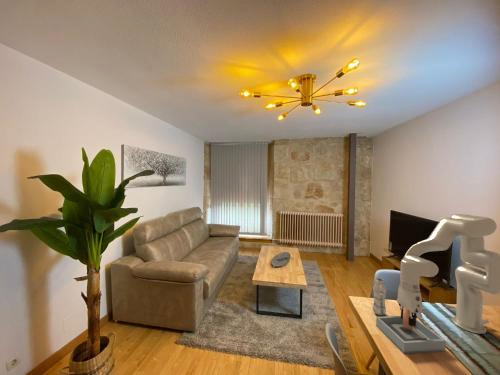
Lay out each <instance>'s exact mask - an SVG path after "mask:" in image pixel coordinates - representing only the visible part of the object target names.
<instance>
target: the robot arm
mask: <svg viewBox="0 0 500 375" xmlns="http://www.w3.org/2000/svg"><path fill="white" fill-rule="evenodd" d="M497 227H498V226H497V222H496V221H495V220H494V219H493V218H491V217H487V216H479V215H471V214H463V213H455V214H452V215H450V217H444V218H442V219H440V221H439V222H438V223H437V224H436V226H435V228H434V229H433V231H432V232H431V234H429V236H428V238H426V239H424V240H421V241H418V242H417V243H415V244H413V245H411V247H409V249H408V250H407V251H406V253H405V255H404V256H403V258H402V259H401V261H400V270H399V272H400V275H399V277H400V278H399V285H398V289H397V298H396V302H397V304H398V306H399V311H400V316H401V319H402V320H403V307H405V308H406V309H408V310H409V312H410V317H409V326H416V319H418V318H423V314H422V313H423V299H422V298H423V297H422V293H421V288H420V279H421V278H420V277H426V278H432V277H435V276H437V274H438V273H439V267H438V265H437V264H436V263H434V262H433V261H431V260H428V259H425V258H424V257H423V258H422V257H421V256H422V255H423V254H425V253H429V252H439V251H447V250H449V248H450V247H451V245H452V243H454V241H455V239H456V238H457V237H460V252H459V254H460V255H459V257H460V260H461V261H462V263H465V264H467V265H459V266H457V267H456V268H455V270H454V275H455V280H456V289H457V290H456V312H455V313H456V314H455V315H456V316H453V317H452V318H451V320H452V322H453V324H454V325H455V326H457V327H459V328H461V329H463V330H464V331H468V332H469V333H474V334H477V335H478V334H479V335H480V334H481V335H482V334H483V335H484V334H486V333H487V328H486V327H485V326H484V325H486V324H490V320H489V319H487V318H483V308H484V306H483V304H484V297H483V294H482V291H484V292H486V293H488V294H491V295H500V253H498V252H495V251H491V250H487V249H485V238H484V237H487V236H490V235H492V234H494V233H495V232H496V230H497V229H498V228H497ZM469 265H470V266H469ZM472 266H473V267H472ZM475 267H477V268H475ZM482 269H483V270H482ZM413 313H414V314H413Z"/></svg>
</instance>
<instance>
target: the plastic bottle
mask: <svg viewBox="0 0 500 375" xmlns="http://www.w3.org/2000/svg"><path fill="white" fill-rule="evenodd" d="M384 284H385V282H384V279H383V278H376V280H375V283H374V285H373V286H372V290H373V303H372V311H373V313H374V314H376V315H378V316H380V317H384V316H385V315H386V313H387V307H386V302H385V301H386V294H387V288H386V286H385V285H384Z"/></svg>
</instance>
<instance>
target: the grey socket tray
mask: <svg viewBox="0 0 500 375" xmlns="http://www.w3.org/2000/svg"><path fill="white" fill-rule="evenodd" d="M375 319H376V320H375V324H376V325H375V327H377V329H378V330H379V331H380V332H381V333H382V334H383V335H384V336H385V338H387V339H388V340H389V341H390V343H392V344H393V345H394V346H395V347H396V348H397V349H398V350H399V351H400V352H401V353H402V354H403V355H408V354H409V355H410V354H423V353H424V354H425V353H442V352H446V340H445V339H444V338H443V337H441V336H440V335H438V334H437V333H436V332H435V331H433V330H432V329H431V328H429V327H428V326H427V325H425V324H424V323H423V322H421V321H420V320H418V318H416V326H413V329H407V328H405V327H404V326H403V320H402V319H401V315H391V316H390V315H389V316H376V318H375Z"/></svg>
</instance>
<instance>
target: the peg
mask: <svg viewBox="0 0 500 375" xmlns="http://www.w3.org/2000/svg"><path fill="white" fill-rule="evenodd" d="M413 315H414V313H413ZM409 317H410V312H409V310H408V309H406V308H405V307H403V326H404V327H405V328H407V329H413V326H409Z"/></svg>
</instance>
